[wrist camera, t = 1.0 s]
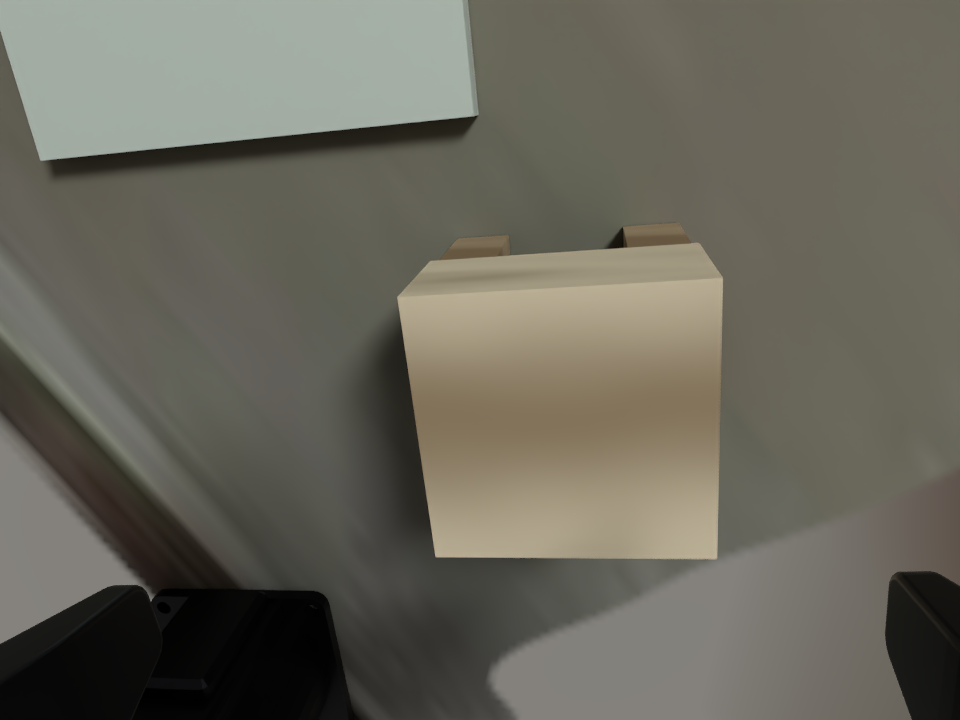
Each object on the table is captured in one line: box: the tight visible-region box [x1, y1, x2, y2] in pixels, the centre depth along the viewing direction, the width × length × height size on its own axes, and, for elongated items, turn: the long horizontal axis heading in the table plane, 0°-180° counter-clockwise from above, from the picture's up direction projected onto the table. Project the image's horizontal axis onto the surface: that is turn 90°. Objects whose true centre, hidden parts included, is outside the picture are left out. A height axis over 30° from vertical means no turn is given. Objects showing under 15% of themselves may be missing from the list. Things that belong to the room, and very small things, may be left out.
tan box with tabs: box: [397, 223, 723, 559], centre depth 17 cm, size 6×6×6 cm
